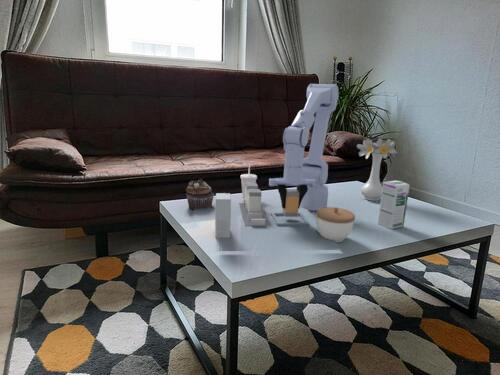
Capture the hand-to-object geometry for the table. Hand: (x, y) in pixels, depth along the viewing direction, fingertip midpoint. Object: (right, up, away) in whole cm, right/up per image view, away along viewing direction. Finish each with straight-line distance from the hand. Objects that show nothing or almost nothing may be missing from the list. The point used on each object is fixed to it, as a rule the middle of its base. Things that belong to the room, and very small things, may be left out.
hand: (290, 207), depth 110 cm
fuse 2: (-12, -2, +5) cm, 13 cm away
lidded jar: (+11, -9, -10) cm, 17 cm away
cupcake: (-31, -1, +12) cm, 33 cm away
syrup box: (+33, -6, +2) cm, 34 cm away
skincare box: (-21, -8, -12) cm, 25 cm away
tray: (0, -5, +1) cm, 5 cm away
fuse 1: (-13, 0, +13) cm, 18 cm away
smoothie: (-14, +1, +23) cm, 27 cm away
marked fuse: (0, -2, +1) cm, 2 cm away
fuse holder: (-12, -3, +6) cm, 13 cm away
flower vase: (+36, +2, +32) cm, 49 cm away
